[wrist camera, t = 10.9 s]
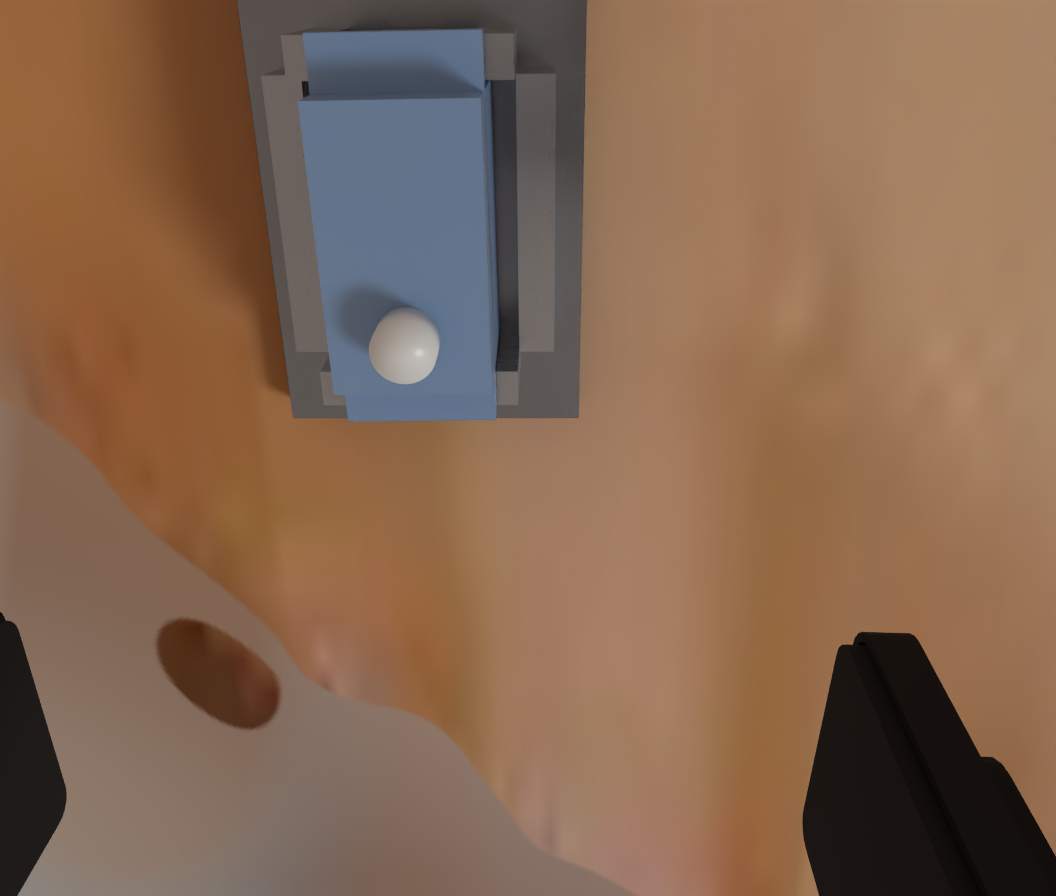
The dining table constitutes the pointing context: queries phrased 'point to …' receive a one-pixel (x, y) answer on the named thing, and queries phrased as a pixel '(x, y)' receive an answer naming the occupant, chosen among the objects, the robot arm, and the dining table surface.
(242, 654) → the dining table surface
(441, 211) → the servo
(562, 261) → the chassis
